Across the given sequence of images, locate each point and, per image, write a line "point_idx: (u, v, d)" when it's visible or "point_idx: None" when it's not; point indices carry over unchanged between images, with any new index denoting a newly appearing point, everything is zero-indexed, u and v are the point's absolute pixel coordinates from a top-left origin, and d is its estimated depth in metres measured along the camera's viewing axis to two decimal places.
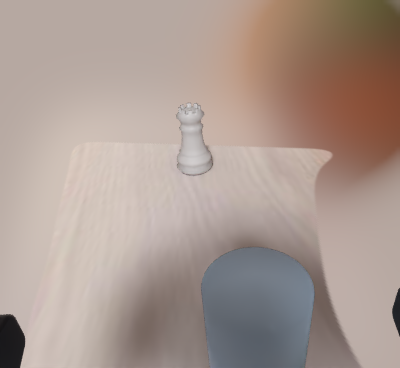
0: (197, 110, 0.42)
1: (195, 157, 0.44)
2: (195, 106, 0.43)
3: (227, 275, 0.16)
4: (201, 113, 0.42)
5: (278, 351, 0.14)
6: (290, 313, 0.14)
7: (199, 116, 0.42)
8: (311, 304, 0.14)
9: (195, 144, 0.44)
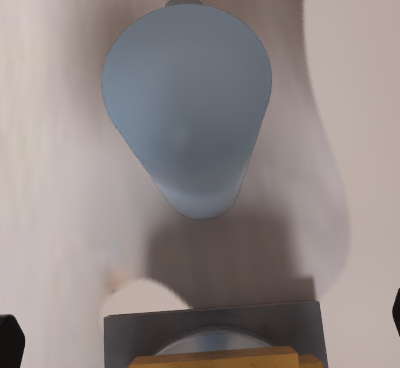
0: None
1: None
2: None
3: (142, 59, 0.10)
4: None
5: (212, 168, 0.11)
6: (230, 126, 0.10)
7: None
8: (263, 111, 0.10)
9: None
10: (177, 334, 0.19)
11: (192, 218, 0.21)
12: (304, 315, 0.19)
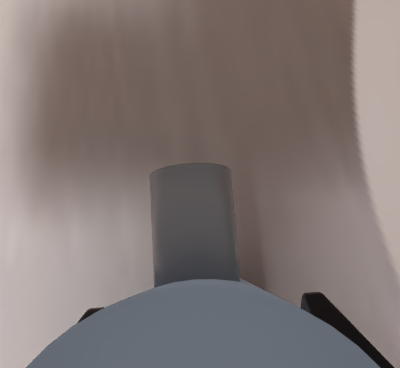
0: None
1: None
2: None
3: None
4: None
5: None
6: None
7: None
8: None
9: None
10: None
11: None
12: None
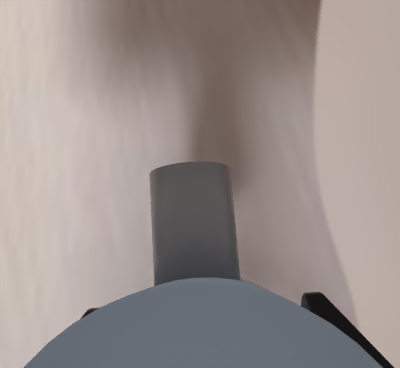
0: None
1: None
2: None
3: None
4: None
5: None
6: None
7: None
8: None
9: None
10: None
11: None
12: None
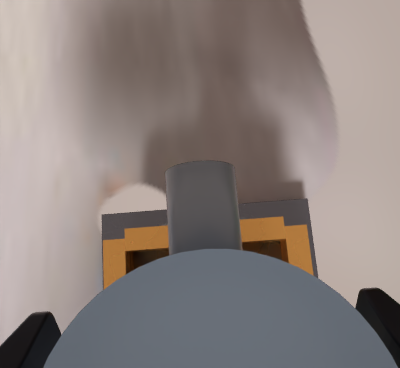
0: None
1: None
2: None
3: None
4: None
5: None
6: None
7: None
8: None
9: None
10: None
11: None
12: (292, 210, 0.20)
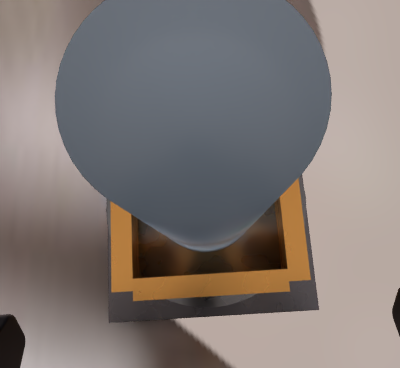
0: None
1: None
2: None
3: (122, 55, 0.06)
4: None
5: (229, 226, 0.07)
6: (263, 167, 0.06)
7: None
8: (317, 143, 0.06)
9: None
10: None
11: None
12: None
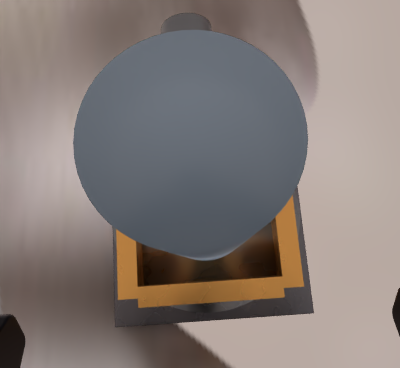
0: None
1: None
2: None
3: (130, 107, 0.07)
4: None
5: (223, 250, 0.08)
6: (250, 203, 0.07)
7: None
8: (296, 182, 0.07)
9: None
10: None
11: None
12: None
